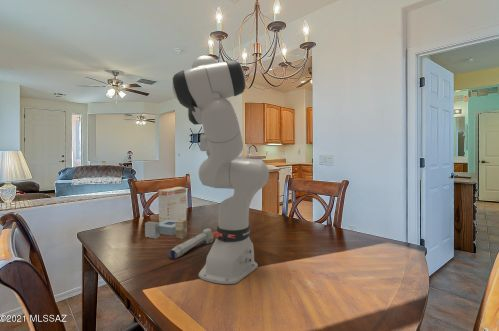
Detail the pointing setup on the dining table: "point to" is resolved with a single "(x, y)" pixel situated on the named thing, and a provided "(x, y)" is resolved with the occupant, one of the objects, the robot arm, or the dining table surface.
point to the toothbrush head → (191, 243)
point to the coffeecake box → (172, 204)
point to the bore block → (167, 227)
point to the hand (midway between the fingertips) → (219, 160)
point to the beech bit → (181, 228)
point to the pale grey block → (152, 229)
